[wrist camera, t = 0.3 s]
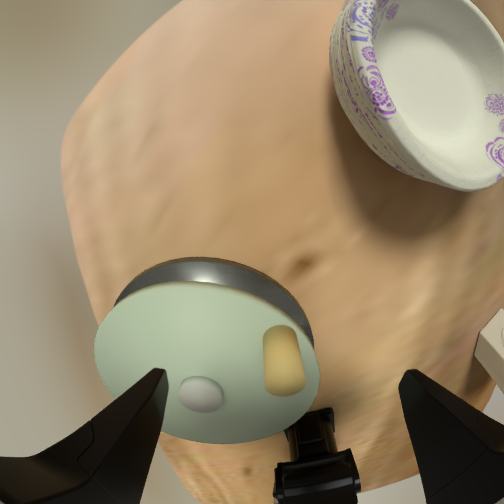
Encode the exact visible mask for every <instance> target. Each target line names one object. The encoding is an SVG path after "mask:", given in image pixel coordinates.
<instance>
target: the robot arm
mask: <svg viewBox="0 0 504 504" xmlns="http://www.w3.org/2000/svg"><path fill="white" fill-rule="evenodd" d="M398 389H399V394H400V399H401V403H402V408H403V413H404V418H405V422H406V425H407V429H408V432H409V435H410V439H411V442H412V446H413V449H414V453H415V456H416V460H417V464H418V468H419V472H420V476H421V480H422V484H423V488H424V493H425V498H426V503H427V504H504V425H503V424H501V423H499V422H497V421H495V420H494V419H492V418H490V417H488V416H487V415H485V414H484V413H482V412H480V411H479V410H477V409H476V408H474V407H473V406H471V405H470V404H468V403H467V402H465V401H464V400H462V399H461V398H459V397H458V396H456V395H455V394H453V393H452V392H450V391H449V390H447V389H446V388H444V387H443V386H441V385H440V384H438V383H437V382H435V381H434V380H432V379H431V378H429V377H428V376H426V375H425V374H423V373H422V372H420V371H419V370H417V369H409V370H407V371H406V372H405V373H404V375H403V377H402V379H401V381H400V383H399V387H398ZM168 391H169V383H168V377H167V372H166V370H165V369H163V368H156V367H155V368H153V369H152V370H151V371H149V372H148V373H147V374H146V375H145V376H143V377H142V378H141V379H140V380H139V381H137V382H136V383H135V384H134V385H132V386H131V387H130V388H129V389H128V390H126V391H125V392H124V393H123V394H122V395H120V396H119V397H118V398H117V399H115V400H114V401H113V402H112V403H111V404H109V405H108V406H107V407H106V408H105V409H103V410H102V411H101V412H99V413H98V414H97V415H96V416H94V417H93V418H92V419H91V421H88V422H87V423H86V424H84V425H83V426H82V427H80V428H79V429H78V430H76V431H75V432H73V433H72V434H70V435H69V436H67V437H66V438H64V439H63V440H61V441H59V442H57V443H56V444H54V445H52V446H51V447H49V448H47V449H45V450H44V451H42V452H40V453H38V454H36V455H33V456H29V457H0V504H140V500H141V497H142V493H143V489H144V486H145V482H146V479H147V475H148V472H149V468H150V464H151V462H152V458H153V455H154V452H155V448H156V445H157V442H158V438H159V435H160V432H161V428H162V425H163V419H164V413H165V408H166V402H167V397H168ZM284 432H285V434H286V437H287V440H288V442H289V448H290V458H291V462H284V463H282V462H280V463H277V468H275V469H274V470H275V483H274V489H273V497H274V498H275V499H277V500H278V503H279V504H357V503H358V499H357V494H356V493H359V492H361V484H360V478H359V473H358V470H357V467H356V464H355V461H354V458H353V455H352V452H351V449H350V448H349V449H346V450H344V451H340V452H338V451H337V446H336V442H335V438H334V432H335V429H334V413H333V409H332V408H327V409H323V410H319V411H314V412H310V413H305V414H304V415H303V416H302V417H301V418H300V419H299V420H297V421H296V422H295V423H294V424H292V425H291V426H289V427H288V428H286V429H284Z"/></svg>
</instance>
